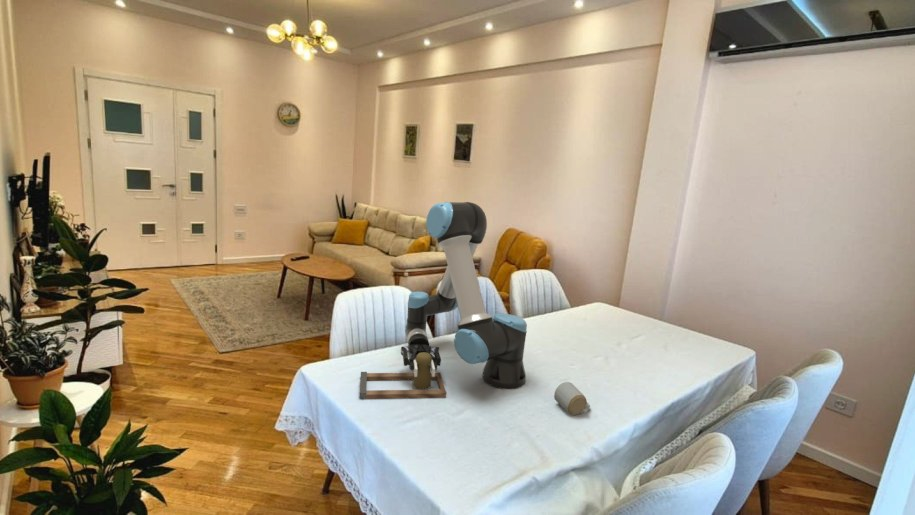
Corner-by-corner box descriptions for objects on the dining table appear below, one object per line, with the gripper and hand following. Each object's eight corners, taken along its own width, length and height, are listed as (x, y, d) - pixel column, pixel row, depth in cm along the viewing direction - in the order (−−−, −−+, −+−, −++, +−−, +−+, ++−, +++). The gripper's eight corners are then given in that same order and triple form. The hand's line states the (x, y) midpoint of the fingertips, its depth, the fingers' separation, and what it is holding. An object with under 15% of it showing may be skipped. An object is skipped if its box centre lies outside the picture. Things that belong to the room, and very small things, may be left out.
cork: (416, 390, 146) (419, 359, 143) (409, 381, 151) (412, 351, 149) (433, 387, 149) (436, 356, 146) (426, 379, 154) (428, 349, 151)
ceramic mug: (567, 418, 139) (571, 395, 137) (552, 404, 146) (555, 382, 144) (595, 413, 143) (599, 391, 141) (579, 400, 150) (582, 379, 149)
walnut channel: (439, 376, 158) (440, 372, 157) (446, 397, 144) (446, 393, 144) (366, 377, 153) (366, 373, 153) (365, 399, 140) (366, 394, 139)
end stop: (366, 377, 153) (366, 371, 153) (365, 399, 140) (366, 393, 139) (360, 377, 153) (360, 371, 152) (359, 399, 139) (359, 393, 139)
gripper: (441, 352, 168) (451, 383, 146) (392, 352, 165) (395, 384, 142) (443, 333, 166) (453, 361, 144) (394, 332, 163) (397, 361, 141)
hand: (424, 372), depth 143 cm, fingers closed on cork, 5 cm apart
